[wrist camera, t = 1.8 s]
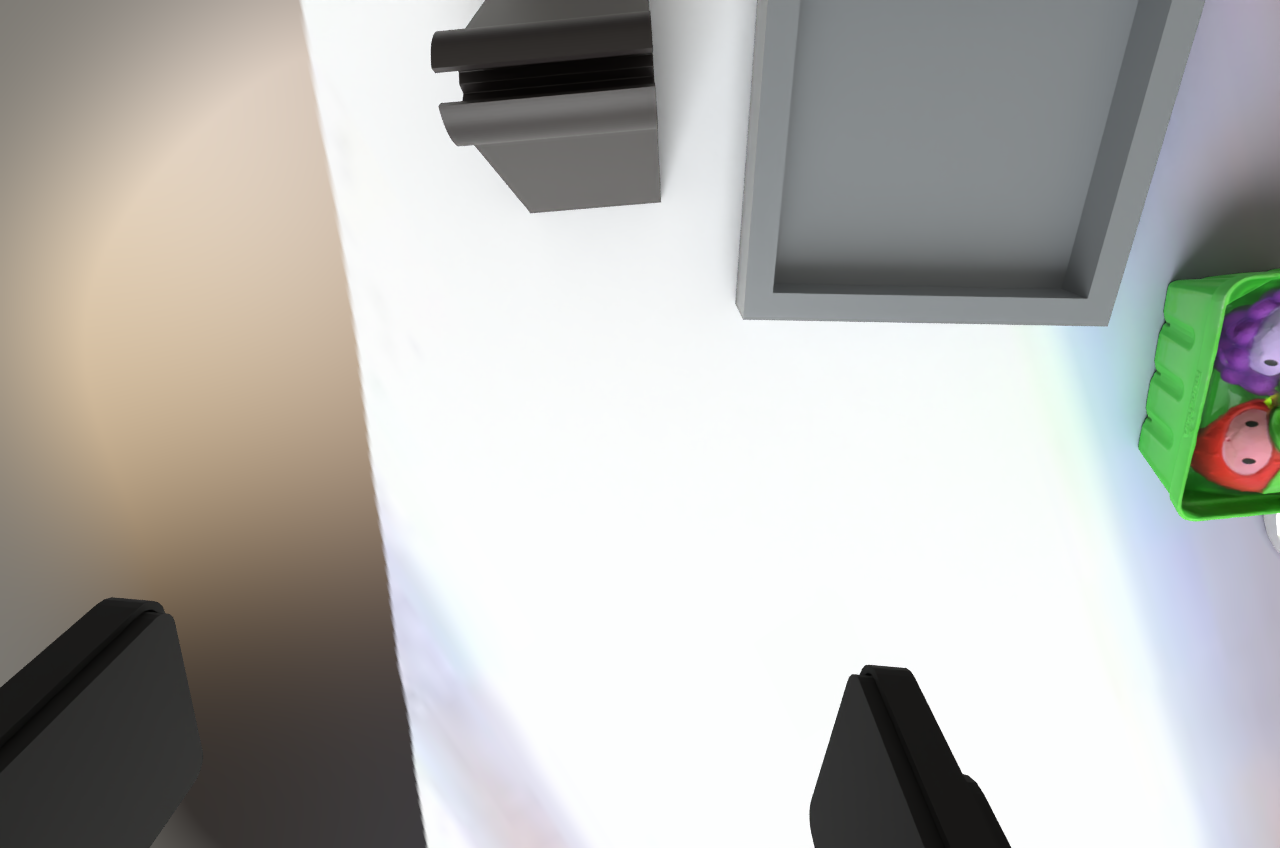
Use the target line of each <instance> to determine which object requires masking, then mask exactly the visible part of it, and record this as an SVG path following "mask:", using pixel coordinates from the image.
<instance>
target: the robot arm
mask: <svg viewBox="0 0 1280 848" xmlns="http://www.w3.org/2000/svg"><path fill="white" fill-rule="evenodd" d="M1264 522H1265V527H1266V531H1267V535H1268V537H1269V539H1270V541H1271V542H1272V544H1273V546H1274V548H1275V549H1276V550H1277V551H1278V552H1279V553H1280V513H1277V514H1267V515H1264ZM202 760H203V752H202V747H201V742H200V738H199V733H198V728H197V724H196V719H195V714H194V709H193V705H192V700H191V695H190V691H189V686H188V681H187V677H186V672H185V667H184V663H183V658H182V653H181V649H180V644H179V639H178V635H177V631H176V625H175V622H174V619H173V617H172V616H171V615H170V614H166V613H165V612H164V609H163V607H162V605H160V604H159V603H158V602H155V601H146V600H135V599H124V598H108V599H104V600H103V601H102V602H100V603H98V604H97V605H96V606H94V607H93V608H92V609H91V610H90V611H89V612H87V613H86V614H85V615H84V616H83V617H82V618H81V619H79V620H78V621H77V622H76V623H75V624H74V625H72V626H71V627H70V628H69V629H68V630H67V631H66V632H64V633H63V634H62V635H61V636H60V637H59V638H57V639H56V640H55V641H54V642H53V643H52V644H50V645H49V646H48V647H47V648H46V649H45V650H44V651H42V652H41V653H40V654H39V655H38V656H36V658H34V659H33V660H32V661H31V662H30V663H28V664H27V665H26V666H25V667H24V668H23V669H21V670H20V671H19V672H18V673H17V674H16V675H15V676H13V677H12V678H11V679H10V680H9V681H8V682H6V683H5V684H4V685H3V686H2V687H1V688H0V848H150V846H151V845H152V843H153V842H154V840H155V839H156V837H157V836H158V834H159V833H160V832H161V830H162V829H163V827H164V825H165V824H166V823H167V822H168V820H169V819H170V817H171V816H172V814H173V813H174V811H175V810H176V809H177V807H178V806H179V804H180V803H181V801H182V800H183V798H184V797H185V795H186V794H187V793H188V791H189V790H190V788H191V787H192V785H193V784H194V782H195V780H196V779H197V777H198V774H199V772H200V769H201V765H202ZM810 828H811V834H812V838H813V842H814V846H815V848H1011V846H1010V844H1009V842H1008V840H1007V838H1006V836H1005V835H1004V833H1003V831H1002V829H1001V827H1000V825H999V823H998V821H997V819H996V817H995V815H994V813H993V811H992V809H991V807H990V805H989V803H988V801H987V799H986V797H985V795H984V794H983V792H982V791H981V789H980V788H979V786H978V784H977V783H976V782H975V781H974V780H973V779H972V778H970V777H969V776H968V775H964V774H962V772H961V770H960V768H959V766H958V764H957V762H956V760H955V758H954V756H953V754H952V752H951V750H950V748H949V746H948V744H947V742H946V740H945V738H944V736H943V734H942V732H941V730H940V728H939V726H938V724H937V722H936V720H935V718H934V716H933V714H932V712H931V709H930V707H929V705H928V703H927V701H926V699H925V697H924V695H923V693H922V691H921V689H920V687H919V685H918V683H917V681H916V679H915V677H914V676H913V674H912V673H911V671H910V670H908V669H907V668H898V667H887V666H876V665H865V666H864V667H863V668H862V671H861V673H860V675H856V674H852V675H851V676H850V677H849V679H848V681H847V685H846V688H845V691H844V695H843V698H842V701H841V704H840V708H839V711H838V714H837V718H836V721H835V724H834V727H833V731H832V734H831V737H830V741H829V744H828V747H827V750H826V754H825V757H824V760H823V764H822V767H821V770H820V773H819V777H818V780H817V783H816V787H815V790H814V793H813V796H812V800H811V804H810Z"/></svg>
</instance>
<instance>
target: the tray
mask: <svg viewBox="0 0 1280 848" xmlns="http://www.w3.org/2000/svg"><path fill="white" fill-rule="evenodd" d="M1204 3H1205V0H757V12H756V26H755V39H754V53H753V67H752V81H751V95H750V109H749V123H748V137H747V151H746V164H745V178H744V192H743V206H742V220H741V234H740V248H739V262H738V275H737V289H736V303H735V304H736V306H737V308H738V310H739V312H740V314H741V316H742V318H743V320H796V321H849V322H902V323H955V324H1008V325H1061V326H1108V323H1109V320H1110V317H1111V313H1112V310H1113V307H1114V303H1115V300H1116V297H1117V293H1118V290H1119V287H1120V283H1121V280H1122V277H1123V273H1124V270H1125V267H1126V263H1127V260H1128V257H1129V253H1130V250H1131V247H1132V243H1133V240H1134V237H1135V233H1136V230H1137V227H1138V223H1139V220H1140V217H1141V213H1142V210H1143V207H1144V203H1145V200H1146V196H1147V193H1148V190H1149V186H1150V183H1151V180H1152V176H1153V173H1154V170H1155V166H1156V163H1157V160H1158V156H1159V153H1160V150H1161V146H1162V143H1163V140H1164V136H1165V133H1166V130H1167V126H1168V123H1169V120H1170V116H1171V113H1172V110H1173V106H1174V103H1175V100H1176V96H1177V93H1178V90H1179V86H1180V83H1181V80H1182V76H1183V73H1184V70H1185V66H1186V63H1187V60H1188V56H1189V53H1190V50H1191V46H1192V43H1193V40H1194V36H1195V33H1196V30H1197V26H1198V23H1199V20H1200V16H1201V13H1202V10H1203V6H1204Z"/></svg>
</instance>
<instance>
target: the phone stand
mask: <svg viewBox="0 0 1280 848" xmlns="http://www.w3.org/2000/svg"><path fill="white" fill-rule="evenodd" d="M652 52H653V45H652V30H651V16H650V11H649V2H648V0H485V1H484V3H483V4H482V6H481V7H480V8H479V10H478V11H477V13H476V14H475V16H474V17H473V18H472V20H471V21H470V23H469V24H468V25H467V27H466V28H465V29H457V30H447V31H437V32H435V33H434V35H433V38H432V43H431V67H432V70H433V71H434V72H435V73H440V72H451V71H458V72H459V84H460V87H461V89H462V91H463V101H460V102H449V103H441V104H440V105H439V110H440V113H441V117H442V120H443V122H444V125H445V128H446V130H447V132H448V134H449V136H450V138H451V139H452V141H453V142H454V143H455V144H456V145H457V146H468V145H474V146H475V147H476V148H477V149H478V150H479V151H480V153H481V154H482V155H483V156H484V157H485V159H486V160H487V161H488V162H489V163H490V165H491V166H492V167H493V168H494V169H495V171H496V172H497V173H498V174H499V175H500V177H501V178H502V179H503V180H504V182H505V183H506V184H507V185H508V186H509V188H510V189H511V190H512V191H513V192H514V194H515V195H516V196H517V197H518V198H519V200H520V201H521V202H522V203H523V204H524V206H525V207H526V208H527V209H528V210H529V212H530V213H538V212H550V211H562V210H574V209H586V208H598V207H610V206H622V205H634V204H646V203H658V202H661V194H660V174H659V154H658V134H657V129H658V125H657V107H656V91H655V84H654V70H653V55H652Z"/></svg>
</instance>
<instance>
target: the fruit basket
mask: <svg viewBox="0 0 1280 848" xmlns="http://www.w3.org/2000/svg"><path fill="white" fill-rule="evenodd" d="M1163 312H1164V319H1165V321H1166V323H1165V324H1164V325H1163V327H1162V329H1161V331H1160V333H1159V338H1158V344H1157V349H1156V354H1155V360H1154V361H1155V368H1156V370H1157V372H1155V373H1154V375H1153V377H1152V379H1151V381H1150V387H1149V392H1148V398H1147V404H1146V410H1147V415H1148V417H1147V418H1146V420H1145V422H1144V424H1143V426H1142V431H1141V435H1140V440H1139V446H1138V447H1139V450H1140V452H1141V453H1142V455H1143V456H1144V458H1145V459H1146V461H1147V462H1148V463H1149V465H1150V466H1151V468H1152V469H1153V471H1154V472H1155V473H1156V475H1157V476H1158V478H1159V479H1160V481H1161V482H1162V484H1163V485H1164V486H1165V488H1166V489H1167V491H1168V492H1169V494H1170V500H1171V502H1172V503H1173V505H1174V507H1175V509H1176V510H1177V512H1178V514H1179V515H1180V516H1181V517H1182V518H1183V519H1185V520H1189V521H1205V520H1213V519H1225V518H1232V517H1246V516H1255V515H1267V514H1277V513H1280V269H1273V270H1269V271H1267V272H1247V273H1236V274H1228V275H1219V276H1211V277H1205V278H1203V279H1187V280H1176V281H1173V282H1171V283H1170V284H1169V286H1168V289H1167V294H1166V300H1165V306H1164V311H1163Z"/></svg>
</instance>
